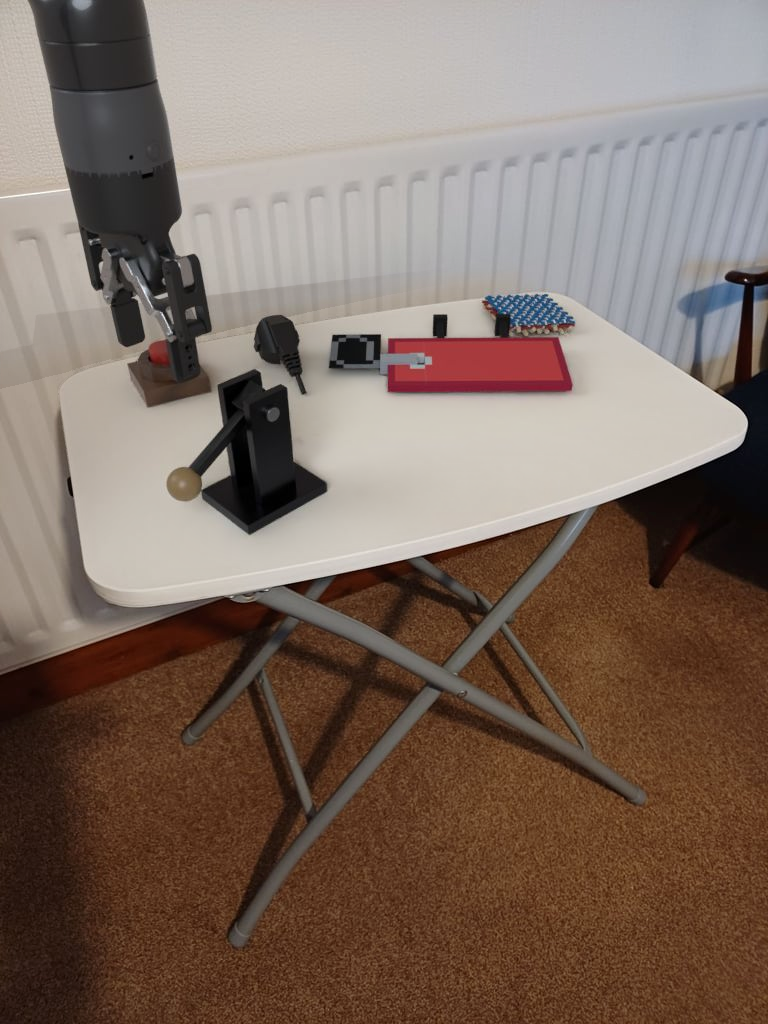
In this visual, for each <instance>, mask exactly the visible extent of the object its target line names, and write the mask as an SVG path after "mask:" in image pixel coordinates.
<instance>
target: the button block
mask: <svg viewBox="0 0 768 1024" xmlns="http://www.w3.org/2000/svg"><path fill="white" fill-rule="evenodd" d="M126 365H127V369H128V374H129V379H130V380H131V382H132V384H133V386H134V387H135V389H136V391H137V392H138V394H139V396H140V397H141V399H142V401H143V403H144V404H145V406H146V407H147V408H151V407H154V406H159V405H163V404H166V403H170V402H175V401H179V400H182V399H187V398H190V397H191V398H192V397H195V396H198V395H202V394H206V393H210V392H212V388H211V387H212V386H211V382H210V375H208V373H207V371H206V370H205V369H204V368H203V367H202V365H201V364H200V375H199V376H198V377H196V378H194V379H191V380H189V381H186V382H184V383H179V382H177V381H176V380H174V379H173V377H172V373H171V367H170V363H168V364H155V363H152V362H151V358H150V353H149V348H147V349H145V350H144V351H142V352H141V353H140V354H139V356H138V358H137V360H136V361H132V362H128V363H127V364H126Z"/></svg>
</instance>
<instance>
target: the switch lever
mask: <svg viewBox="0 0 768 1024" xmlns="http://www.w3.org/2000/svg"><path fill="white" fill-rule="evenodd" d="M266 390H267V389H265V388H264V387H263V386H262V387H261V386H259V385H257V384H256V383H254V382H252V381H249V382H248V383H247V385H246V386H245V387H244V388H243V389H242V390H241V392H240V393H239V394H238V395H237V396H236V397H235V399H234V400H233V401H232V402H231V403H232V404H233V405H234V406H235V407H236V408H237V409H238V410H237V411H236V412H235V414H234V415H233V416H232V417H231V418H230V419H229V421H228V422H227V423H226V424H225V425H224V426H223V425H222V427H221V429H220V430H219V431H218V432H217V433H216V434H215V436H214V437H213V438H212V439H211V440H210V441H209V442H208V444H207V445H206V446H205V447H204V448H203V450H202V451H201V452H200V453H199V454H198V456H197V457H195V459H194V460H193V461H192V463H191V464H190V465H188V466H181V467H180V466H179V467H177V468H175V469H173V470H172V471H171V472H170V473H169V474H168V476H167V479H166V484H165V485H166V490H167V493H168V494H169V495H170V496H171V497H172V498H173V499H174V500H176V501H178V502H182V503H183V502H184V503H185V502H190V501H194V499H196V498H197V497H198V496H199V495H200V494H201V490H202V489H203V480H202V476H203V475H204V474H205V473H206V472H207V471H208V470H209V468H210V467H211V466H212V465H213V464H214V462H216V460H217V459H218V458H219V456H220V455H221V454H222V453H223V452H224V451H225V450H226V449H227V446H228V445H229V443H230V442H231V441H232V440H233V439H234V438H235V436H236V435H237V434H238V433H239V432H240V431H241V429H242V428H243V427H244V426H245V425H246V422H245V415H244V407H243V400H245V399H247V398H250V397H252V396H254V395H256V394H259V393H261V392H263V391H266Z"/></svg>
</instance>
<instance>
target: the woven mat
mask: <svg viewBox="0 0 768 1024" xmlns="http://www.w3.org/2000/svg"><path fill="white" fill-rule="evenodd" d="M484 299H485V300H481V304H482V305H481V306H482V308H483V309H484V310H486V311H487V312H488V313H489V316H490V317H491V318H492V319H493V321H495V320H496V314H510V316H511V320H510V329H509V336H508V337H514V335H515V334H514V332H515V333H517V334H521V333H522V334H523V335H524V337H529V335H530V334H534V333H535V332H536V334H538V335H541V334H542V333H544V334H545V335H549V334H550V331H551V332H554V333H555V332H558V333H559V335H563V334H565V331H566V332H568V333H569V332H571V331H572V330H574V327H575V326H576V321H575V320H574V317H573V316H572V315H569V312H568V311H563V310H564V307H563V306H558V305H559V303H558V302H554V299H553V297H552V298H551V297H549V294H548V293H543V294H542V293H540V294H538V293H534V294H531V295H530V294H528V293H524V294H521V295H520V294H513V295H511V294H509V293H508V294H506V295H503V296H502V295H500V294H497V295H493V296H492V295H487V296H485V297H484ZM513 331H514V332H513ZM529 333H530V334H529Z"/></svg>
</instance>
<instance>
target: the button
mask: <svg viewBox="0 0 768 1024" xmlns="http://www.w3.org/2000/svg"><path fill="white" fill-rule="evenodd" d="M148 349H149V353H150V358H151V362H152V363H155V364H168V363H170V362H169V357H168V351H167V346H166V341H165V339H161V340H155V341H154V342H152V343H150V344H149V345H148Z"/></svg>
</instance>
